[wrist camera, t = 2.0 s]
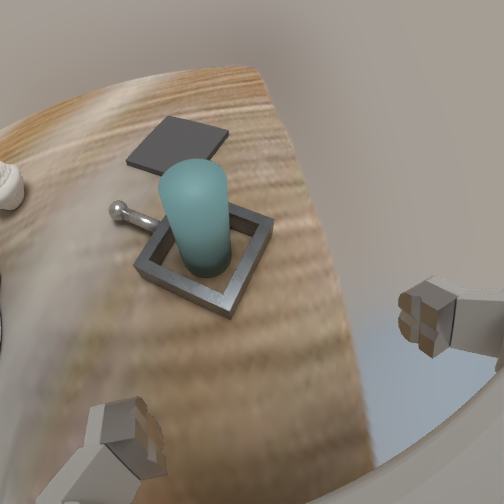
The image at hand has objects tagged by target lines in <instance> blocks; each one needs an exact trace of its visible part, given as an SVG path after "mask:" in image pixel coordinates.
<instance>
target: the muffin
mask: <svg viewBox="0 0 504 504" xmlns="http://www.w3.org/2000/svg"><path fill="white" fill-rule="evenodd" d="M23 198H24V185H23V177H22V175H21V170H20V168H19V167H18V166H17V165H14V164H9V165H8V164H4V163H3V162H2V161H0V208H1V209H6V210H14V209H16V208H17V207H18V206H19V205H20V204H21V202H22V201H23Z"/></svg>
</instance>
